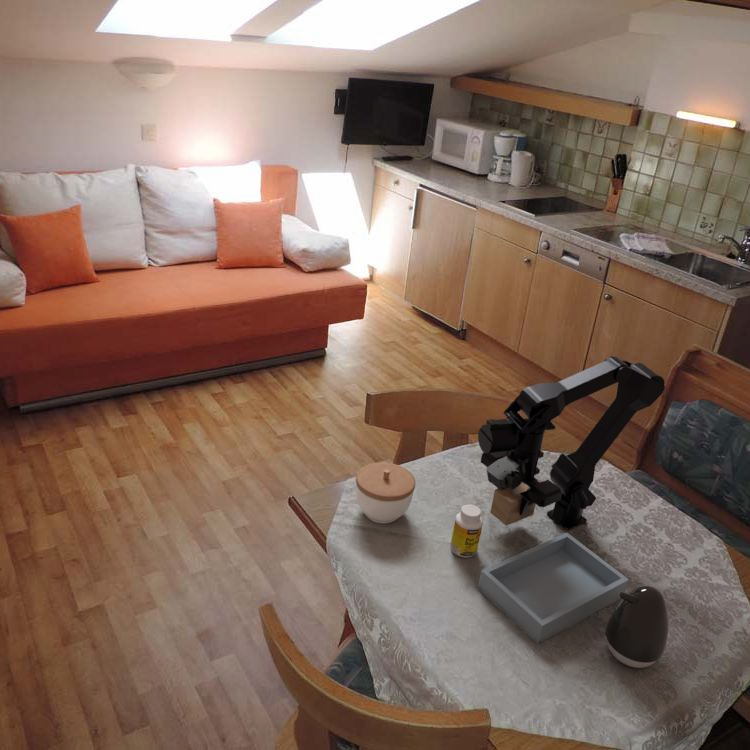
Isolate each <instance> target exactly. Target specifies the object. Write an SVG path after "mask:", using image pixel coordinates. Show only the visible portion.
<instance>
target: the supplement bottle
mask: <svg viewBox="0 0 750 750" xmlns="http://www.w3.org/2000/svg"><path fill="white" fill-rule="evenodd" d="M481 513H482V510H481V509H480V508H479V506H476V505H474V504H464V505H463V506H462V507H461V509H460V512H458V513H457V514H456V516H455V519H454V524H453V530H452V535H451V541H450V549H451V552H452V553H453V554H454V555H456V556H458V557H460V558H467V559H468V558H472V557H474V556H475V555H476V554H477V552H478V548H479V543H480V539H481V538H480V537H481V534H482V529H483V524H484V521H483V517H481Z"/></svg>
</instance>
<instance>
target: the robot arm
mask: <svg viewBox="0 0 750 750" xmlns="http://www.w3.org/2000/svg"><path fill="white" fill-rule="evenodd" d="M616 383H617V387H616V394H615V395H616V396H615V398H614V400H613V402H612V403H611V404H610V405H609V407H608V408H607V409H606V410H605V412H604V414H603V415H602V416H601V417H600V419H599V420H598V422H597V423H596V424H595V425H594V427H592V429H591V431H590V432H589V433H588V435H587V436H586V437H585V438H584V440H583V441H582V443H580V445H579V446H578V448H577V449H576V450H575V451H574V452H572V453H571V452H570V453H568V454H566V453H564V452H563V453H561V454H560V455H559V456H558V458H557V460H556V461H555V462H554V463H553V464H552V465H551V466H550V467H551V470H550V472H549V477H550V480H551V481H550V480H549V479H546V480H544V481H543V480H541V479H538V478H536V477H535V476H536V475H538V474H540V471H541V469H540V468H539V467H538V463H539V459H541V458H544V454H545V453H544V451H542V445H543V442H544V438H545V432H546V431H551V430H555V429H556V425H555V424H553V422H552V420H554V419H555V418H557V417H559V416H560V415H561V414H562V413H563V411H564V409H565V408H566V407H567V406H569V405H571V404H573V403H575V402H577V401H579V400H581V399H583V398H586V397H588V396H590V395H593V394H594V393H598V392H599V391H601V390H603V389H605V388H608V387H610V386H613V385H615V384H616ZM665 385H666V384H665V379H664V378H663V377H662V376H661V375H660V374H659V373H657V372H656V371H654V370H653V369H651V368H650V367H648V366H647V365H646V364H644V363H642V362H636V363H632V362H629V361H628V360H626V359H621V358H618V357H617V356H608V357H607V358H605V359H604V360H603V361H601V362H600V363H597V364H595V365H592V366H591V367H588V368H586V369H584V370H581V371H580V372H578V373H575V374H572V375H570V376H568V377H565V378H563V379H562V380H559V381H556V382H540V383H537V384H533V385H530V386H526V387H525V388H523V389H521V391H520V392H519V394H518V396H517V397H516V398H515V399H514V400H513V401H511V403H510V404H509V405H508V407H506V408H505V410H504V411H503V414H504V416H505V417H506V418H501V419H500V418H499V419H495V418H494V419H487V420H486V423H485V424H483V425H481V426H480V429H478V434H477V439H478V444H479V447H480V450H481V451H482V453H481V456H480V463H481V464H482V465H484V466H485V467H486V475H487V480H488V482H489V483H490V484H492V485H493V486H495V487H496V489H499V490H505V489H507V488H510V489H512V490H513V489H515V488H516V487H518V486H519V485H520V484H521V483H523V484H526V485H528V489H527V491H524V492H522V493H520V495H521V496H522V497H523V498H522V503H521V507H520V515H521V516H522V515H524V514H525V513H526V512H527V511H528V510H529V508H530V507H531V506H532V505H533V504H534V503H535V504H536V506H538V507H540V508H545V507H547V506H550V505H553V504H554V506H553V509H551V510H549V511H547V513H546V515H547V516H548V517H550V518H551V519H552V520H553V521H555V522H556V523H558V525H560V526H562V527H563V528H564V529H566V530H568V531H569V530H571V529H574V528H575V527H578V526H581V525H583V524H584V523H587V520H588V519H587V517H584V516H583V512H584V510H585V509H587V508H588V507H591V506H593V505H594V503H595V501H596V500H597V497H596V496H595V494H594V493H593V492H592V491H591V490H590V489H589V488H590V487H591V485H592V484H593V481H594V477H595V471H596V470H595V469H596V465H597V464H598V463H599V461H600V460H601V459H602V458H603V456H604V455H605V453H607V451H608V450H609V448H610V447H611V446H612V444H613V443H614V442H615V441H616V439H617V437H618V436H619V435H620V434H621V432H623V430H624V429H625V427H626V426H627V424H628V423H629V422H630V421H631V420H632V418H633V417H634V416H635V414H636V413H637V412H639V411H641V410H644V409H647V408H649V407H651V406H652V405H653V404H654V403H655V402H656V401H657V400H658V398H659V397H661V396H662V394H663V393H664V391H665V389H666V386H665ZM520 411H521V413H523V415H525V417H526V418H525V417H524V418H523V416H522V415H520V413H519V412H520Z"/></svg>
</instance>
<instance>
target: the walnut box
mask: <svg viewBox="0 0 750 750" xmlns="http://www.w3.org/2000/svg"><path fill="white" fill-rule="evenodd" d="M527 489H528V485H526V484H523V483H521V484H520V485H519V486H518V487H516V488H515V489H513V490H512V489H510V488H507V489H505V490H499V489H498V488H496V489H494V491H493V496H492V497H493V498H492V503H491V507H490V512H489V513H490V514H491V515H493V516H494V517H495V518H496V519H497V520H498V521H499V522H501V523H502V524H503V525H505V526H510V525H512V524H514V523H516V522H519V521H522V520H524V519H527V518H528V517H531V516H533V515H534V513H535V508H536V506H537V504H535V503H534V504H533V505H532V506H531V507H530V508H529V510H528V511H527V512H526V513H525V514H524V515H522V516H521V515H520V507H521V503H522V498H523V497H522V496H521V495H520V493H522V492H524V491H527Z"/></svg>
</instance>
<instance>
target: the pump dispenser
mask: <svg viewBox="0 0 750 750" xmlns="http://www.w3.org/2000/svg"><path fill="white" fill-rule="evenodd" d="M619 596H620V598H621V600H620V602H619V603H618V604H617V606H615V608H614V610H613V611H612V613H611V615H610V617H609V619H608V621H607V622H606V625H605V629H604V630H605V631H604V633H605V637H606V638H605V639H606V643H607V646H608V649H609V651H610V653H611V654H612V655H613V657H614V658H615V659H616V660H617V661H619V662H620V663H622V664H623V665H626V666H628V667H631V668H636V669H637V668H638V669H642V668H647V667H649V666H651V665H653V664H654V663H656V662H657V661H658V660H660V659H661V658H662V657H663V656H664V654H665V651H666V648H667V643H668V637H669V629H670V626H669V625H670V622H669V621H670V620H669V612H668V605H667V602H666V599H665V597H664V594H663V593H662V592H661V591H660V590H659V589H658V588H656V587H655V586H652V585H648V584H647V585H646V584H642V585H640V586H637V587H635V588H633V589H632V590H630V591H629V592H628V593H627V592H625V593H624V592H621V593H620V594H619Z"/></svg>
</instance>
